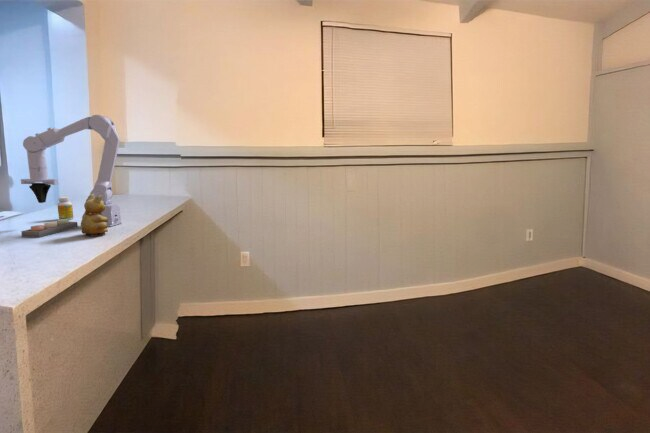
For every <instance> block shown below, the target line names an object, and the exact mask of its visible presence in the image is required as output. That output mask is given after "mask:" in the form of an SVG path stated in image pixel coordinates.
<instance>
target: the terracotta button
mask: <svg viewBox="0 0 650 433" xmlns="http://www.w3.org/2000/svg"><path fill="white" fill-rule="evenodd" d="M30 229H31V231H42V230H44V224H43V225H41V224H37V225H32V226H30Z"/></svg>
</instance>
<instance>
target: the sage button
mask: <svg viewBox="0 0 650 433" xmlns="http://www.w3.org/2000/svg"><path fill="white" fill-rule="evenodd" d="M56 222H57V224H58V225H65V224H69V222H70V220H69V219H61V220H59V219H57V220H56Z"/></svg>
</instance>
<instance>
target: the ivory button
mask: <svg viewBox="0 0 650 433" xmlns="http://www.w3.org/2000/svg"><path fill="white" fill-rule="evenodd" d="M43 225H44V227H45V228H53V227H57V221H50V222H49V221H48V222H45V223H43Z"/></svg>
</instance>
